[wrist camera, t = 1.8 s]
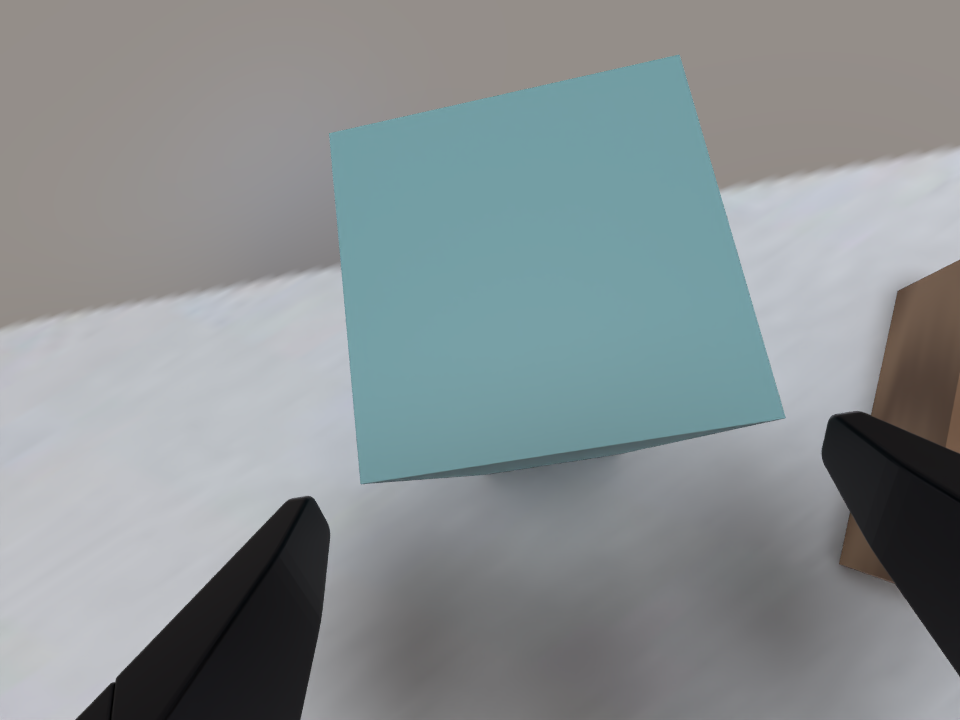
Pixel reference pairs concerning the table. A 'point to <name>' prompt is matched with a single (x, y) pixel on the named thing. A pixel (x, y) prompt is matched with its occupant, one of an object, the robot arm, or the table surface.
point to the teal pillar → (542, 280)
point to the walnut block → (917, 381)
